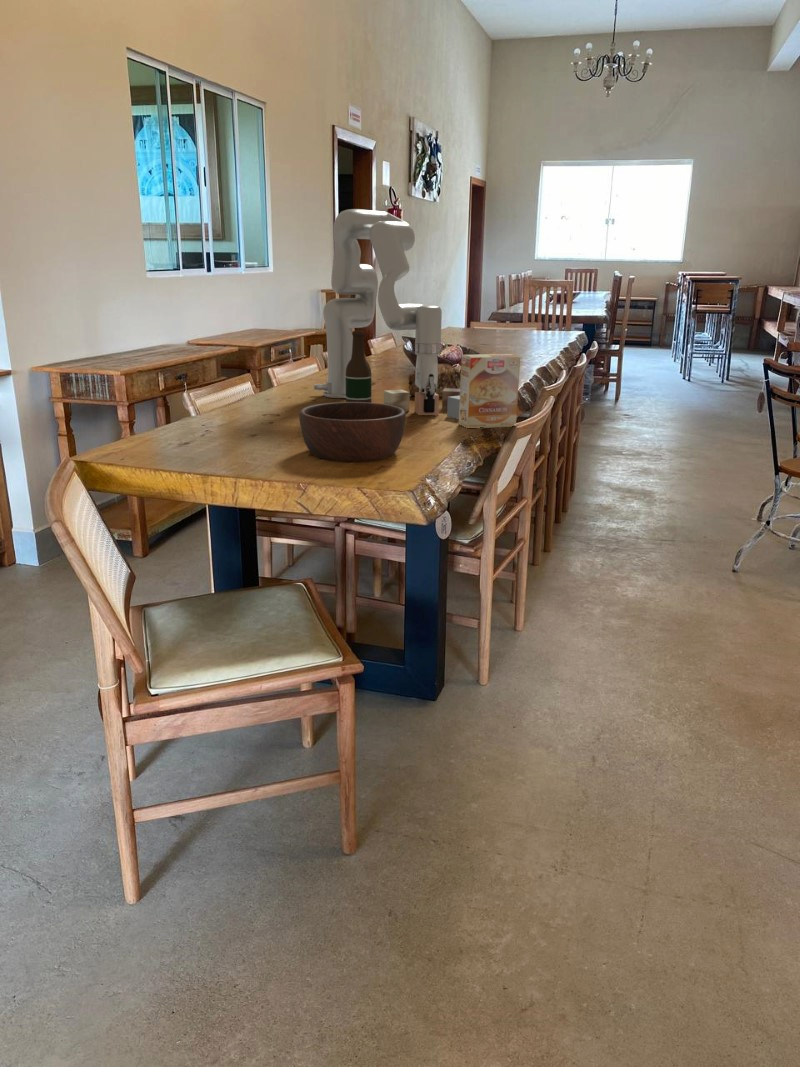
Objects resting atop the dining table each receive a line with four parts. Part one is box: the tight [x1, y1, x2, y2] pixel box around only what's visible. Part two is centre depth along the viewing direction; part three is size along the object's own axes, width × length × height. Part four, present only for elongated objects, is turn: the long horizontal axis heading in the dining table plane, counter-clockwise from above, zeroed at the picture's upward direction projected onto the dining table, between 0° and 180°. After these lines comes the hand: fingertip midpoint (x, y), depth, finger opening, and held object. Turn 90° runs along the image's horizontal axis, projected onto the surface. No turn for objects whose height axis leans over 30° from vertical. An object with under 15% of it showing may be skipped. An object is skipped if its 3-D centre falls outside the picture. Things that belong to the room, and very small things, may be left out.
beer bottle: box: [345, 330, 372, 403], centre depth 235 cm, size 8×8×24 cm
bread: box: [408, 363, 461, 398], centre depth 272 cm, size 19×11×10 cm, turn 146°
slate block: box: [446, 396, 460, 420], centre depth 233 cm, size 6×6×6 cm
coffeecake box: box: [458, 353, 521, 429], centre depth 219 cm, size 15×7×20 cm, turn 108°
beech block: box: [383, 389, 411, 413], centre depth 242 cm, size 6×6×6 cm
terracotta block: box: [414, 392, 440, 416], centre depth 238 cm, size 6×6×6 cm
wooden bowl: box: [298, 401, 407, 463], centre depth 187 cm, size 25×25×10 cm
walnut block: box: [441, 388, 460, 411], centre depth 246 cm, size 6×6×6 cm
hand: (426, 409), depth 238 cm, fingers closed on terracotta block, 6 cm apart
